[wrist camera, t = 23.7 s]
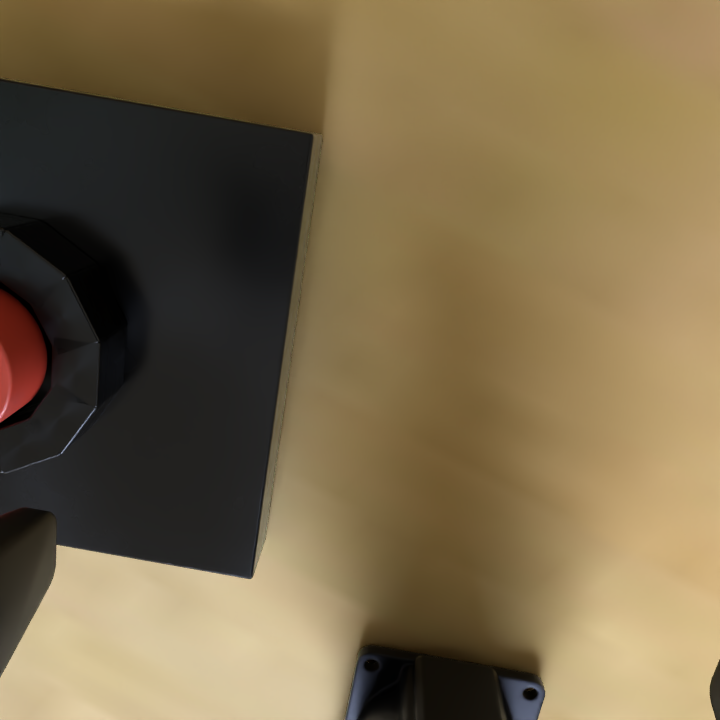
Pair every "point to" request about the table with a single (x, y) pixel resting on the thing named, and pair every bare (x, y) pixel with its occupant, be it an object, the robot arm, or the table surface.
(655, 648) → the table surface
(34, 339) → the button
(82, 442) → the control block
